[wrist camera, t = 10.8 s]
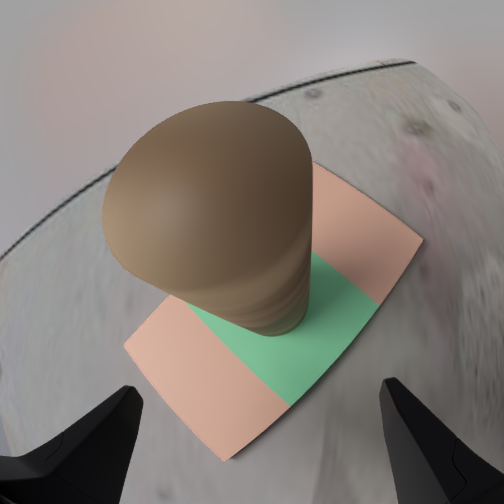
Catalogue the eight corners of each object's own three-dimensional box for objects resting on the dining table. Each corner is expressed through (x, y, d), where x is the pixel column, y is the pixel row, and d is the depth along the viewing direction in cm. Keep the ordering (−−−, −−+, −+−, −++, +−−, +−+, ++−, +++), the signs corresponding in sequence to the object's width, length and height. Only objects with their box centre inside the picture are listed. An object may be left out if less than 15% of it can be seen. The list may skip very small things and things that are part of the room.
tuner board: (227, 458, 15) (224, 462, 15) (128, 346, 20) (122, 345, 19) (420, 243, 18) (423, 239, 18) (306, 163, 23) (306, 157, 22)
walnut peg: (296, 345, 17) (269, 325, 4) (226, 323, 18) (73, 249, 6) (317, 275, 18) (331, 110, 6) (249, 258, 20) (161, 102, 7)
